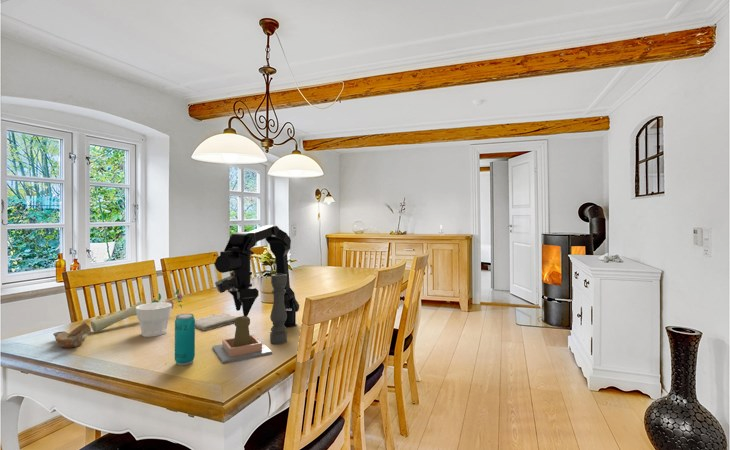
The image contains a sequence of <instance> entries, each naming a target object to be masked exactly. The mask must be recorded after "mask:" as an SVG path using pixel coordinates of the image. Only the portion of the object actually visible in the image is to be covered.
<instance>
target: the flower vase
mask: <svg viewBox="0 0 730 450" xmlns="http://www.w3.org/2000/svg"><path fill="white" fill-rule="evenodd" d="M179 290H180V289H179V288H177V289H176V290H175V289H174V293H173V295H174V297H173V299H168V300H167V302H168V303H171V304H172V308H171V310H172V309H173V308H174V304H175V302H174V300H177V299H178V300H177V303H179V304H177V303H176V305H178V306H179V307H181V309H183V308H182V304H181V303H182V302H183V300H182V299H183V295H182V294H181V293H180V291H179ZM176 295H177V296H176ZM161 299H162V294H161V293H160V292H159V293H158V300H157V299H155V300H152V301H151V303H154V302H160V300H161ZM142 304H145V303H144V302H143V300H140V301H138V302H137V303H135V304H134V305H132V306H130V307H129V308H126V309H124V310H121V311H118V312H116V313H113V314H110V315H107V316H104V317H101V318H98V319H94V320H91V321H90V328H91V330H92V331H93V332H94V333H95V332H96V333H98V332H101V331H103V330H104V329H106V328H108V327H110V326H112V325H114V324H117V323H119V322H121V321H123V320H125V319H128V318H130V317H134V316H137V313H136V307H137V306H139V305H142Z"/></svg>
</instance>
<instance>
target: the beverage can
mask: <svg viewBox="0 0 730 450" xmlns="http://www.w3.org/2000/svg"><path fill="white" fill-rule="evenodd" d="M194 316H195V314H194V313H181V314H177V315H176V316H175V319H174V361H175V363H176V365H177V366H189V365H191V364H192V363H193V362H194V359H195V357H196V352H195V351H196V328H195V319H196V318H195V317H194ZM190 363H191V364H190Z"/></svg>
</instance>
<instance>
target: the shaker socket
mask: <svg viewBox="0 0 730 450" xmlns="http://www.w3.org/2000/svg"><path fill="white" fill-rule="evenodd" d="M234 338H235V337H231V338H226V339H225V338H224V339H222V340H221V341H222V343H221V344H217V345H215V344H214V345H212V350H213V352H214V353H215V354H216V355H217V357H218V358H219V360H220V361H221V363H222V364H227V363H232V362H238V361H243V360H249V359H253V358H257V357H263V356H269V355H272V354H273V351H272V350H271V349H270V348H269V347H268V346H267V345H266V344H265V343H264V342H263V341H261V340H260V339H259V338H257V337H256V336H255V335H253V334H250V342H251V344H250V345H244V346H239V347H233V345H234Z"/></svg>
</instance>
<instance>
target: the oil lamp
mask: <svg viewBox="0 0 730 450" xmlns="http://www.w3.org/2000/svg"><path fill="white" fill-rule="evenodd" d="M91 331H92V328H91V325H89V324H88V323H87V322H86V321H83V322H82V323H81V324H79V325H78V326H77V327H75V328H74V329H72V330H71V331H70V332H67V331H57V332H54V333H53V334H52V335H53V336H54V338H55V341H56V342H57V344H58V345H59V346H60V347H61V348H64V349H65V348H67V349H69V348H75V347H81V346H82V344H83V343H84V342H85V341H86V338H87V335H88V334H89V333H91Z"/></svg>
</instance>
